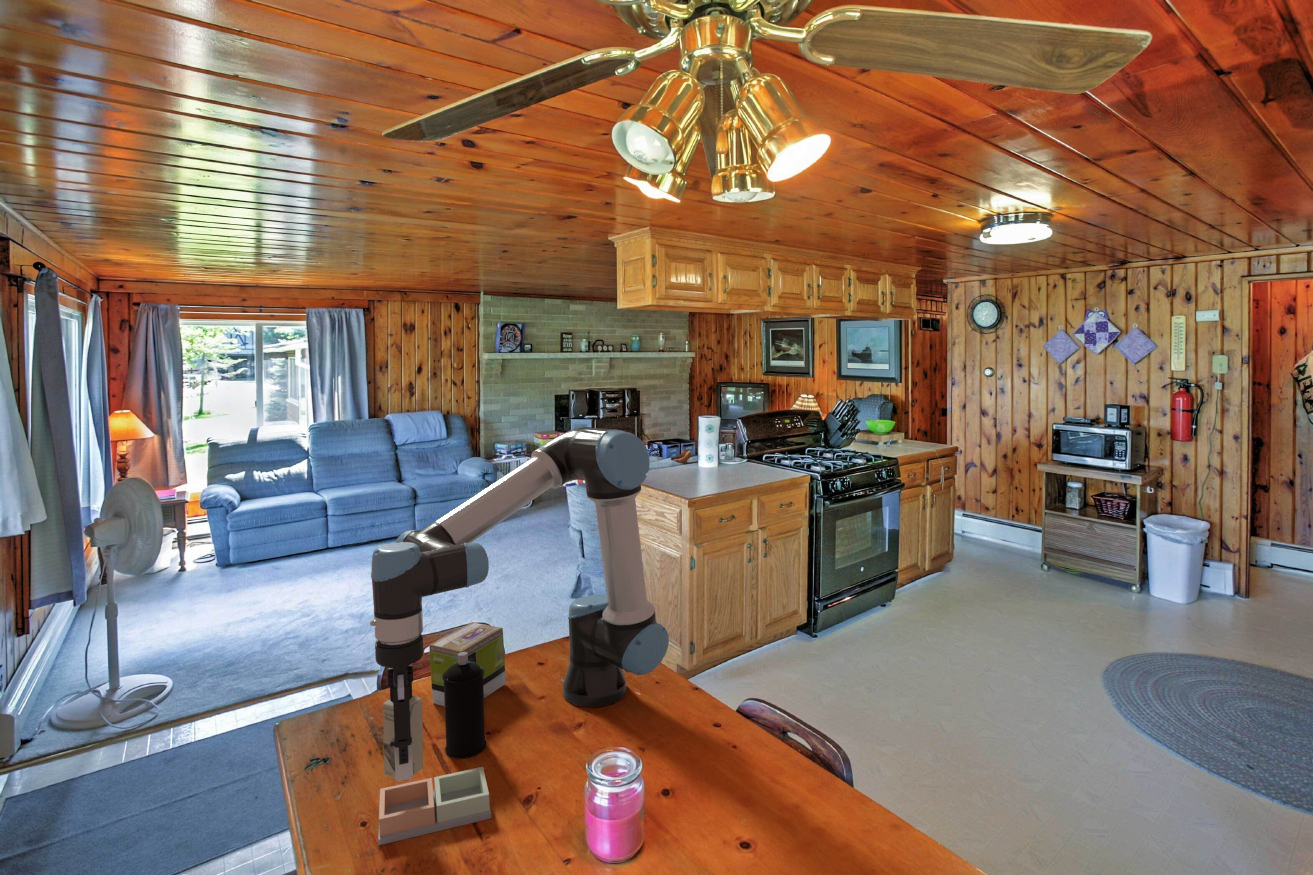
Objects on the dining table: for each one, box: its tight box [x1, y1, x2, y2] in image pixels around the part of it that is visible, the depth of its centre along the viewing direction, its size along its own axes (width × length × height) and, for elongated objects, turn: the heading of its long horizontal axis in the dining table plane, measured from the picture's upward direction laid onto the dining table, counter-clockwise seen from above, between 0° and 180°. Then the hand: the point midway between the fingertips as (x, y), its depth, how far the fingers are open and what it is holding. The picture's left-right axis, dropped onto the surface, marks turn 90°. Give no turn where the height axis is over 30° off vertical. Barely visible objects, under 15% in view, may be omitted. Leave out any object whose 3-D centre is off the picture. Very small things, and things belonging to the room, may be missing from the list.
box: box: [382, 695, 424, 782], centre depth 113 cm, size 5×4×13 cm
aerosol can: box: [442, 652, 488, 760], centre depth 136 cm, size 8×8×20 cm
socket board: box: [377, 766, 492, 846], centre depth 116 cm, size 18×10×4 cm, turn 111°
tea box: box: [428, 621, 507, 708], centre depth 158 cm, size 15×10×15 cm
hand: (404, 766), depth 114 cm, fingers closed on box, 6 cm apart
